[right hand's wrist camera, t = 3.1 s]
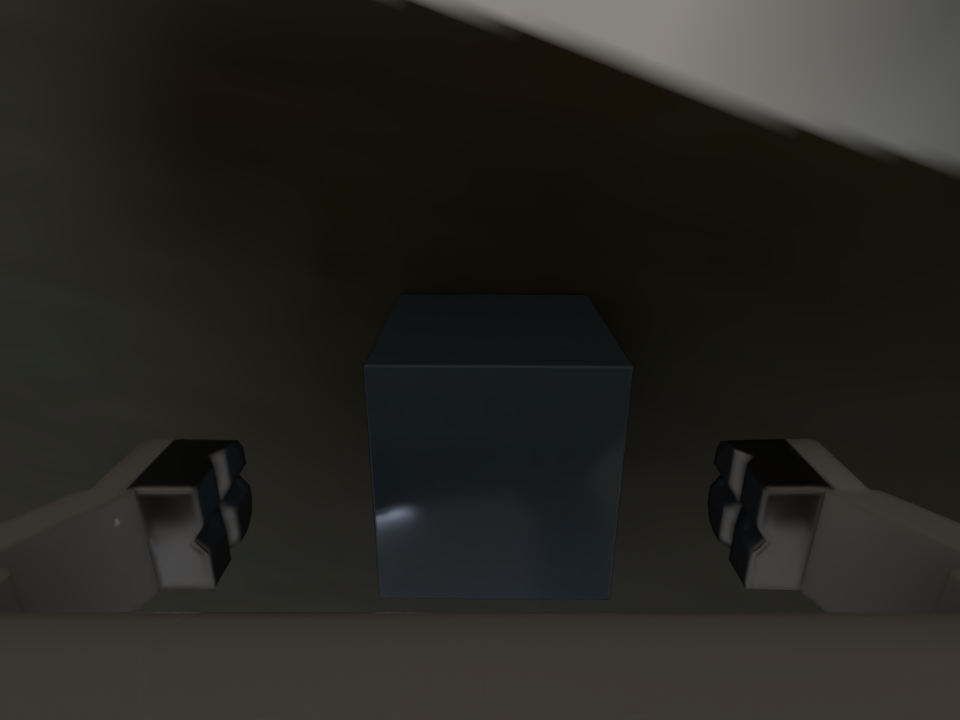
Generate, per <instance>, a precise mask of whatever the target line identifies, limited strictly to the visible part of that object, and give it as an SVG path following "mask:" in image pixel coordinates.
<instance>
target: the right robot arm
mask: <svg viewBox="0 0 960 720" xmlns="http://www.w3.org/2000/svg"><path fill="white" fill-rule="evenodd" d="M245 465H246V460H245V455H244V450H243V446H242V445H241V444H240V443H239V442H238V440H198V439H179V440H178V439H149V440H143V441H142V442H141V443H140V444H139V445H138V446H137V447H136V448H135V449H134V450H133V451H132V452H130V453H129V454H128V455H127V456H126V457H125V458H124V459H123V460H122V461H121V462H120V463H119V464H118V465H117V466H115V467H114V468H113V469H112V470H111V471H110V472H109V473H108V474H107V475H106V476H105V477H104V478H103V479H101V480H100V481H99V482H98V483H97V484H96V485H95V486H94V487H93V488H92V489H91V490H79V491H77V492H75V493H72V494H70V495H67V496H65V497H62V498H60V499H58V500H55V501H53V502H50V503H48V504H45V505H43V506H40V507H38V508H36V509H33V510H31V511H28V512H26V513H23V514H21V515H18V516H16V517H14V518H11V519H9V520H6V521H4V522H1V523H0V720H960V523H958V522H956V521H954V520H951V519H949V518H946V517H944V516H941V515H939V514H937V513H934V512H932V511H929V510H927V509H924V508H922V507H919V506H917V505H915V504H912V503H910V502H907V501H905V500H902V499H900V498H898V497H895V496H893V495H890V494H888V493H885V492H883V491H881V490H869V489H868V488H867V487H866V486H865V485H864V484H863V483H862V482H861V481H860V480H859V479H858V478H856V477H855V476H854V475H853V474H852V473H851V472H850V471H849V470H848V469H847V468H846V467H845V466H844V465H843V464H841V463H840V462H839V461H838V460H837V459H836V458H835V457H834V456H833V455H832V454H831V453H830V452H829V451H828V450H826V449H825V448H824V447H823V446H822V445H821V444H820V443H819V442H818V441H816V440H813V439H810V438H807V439H768V440H727V441H721V442H720V443H719V445H718V447H717V450H716V454H715V459H714V465H715V466H716V468H717V469H718V471H719V472H720V474H721V475H720V476H719V477H718V478H717V479H716V480H715V481H714V482H713V483H712V484H711V485H710V489H709V497H708V512H709V520H710V523H711V527H712V530H713V532H714V534H715V536H716V538H717V539H718V541H719V542H721V543H723V544H724V545H726V546H727V547H729V548H731V550H730V555H729V561H730V562H731V564H732V566H733V567H734V569H735V571H736V573H737V574H738V576H739V578H740V579H741V581H742V583H743V585H744V586H745V588H746V589H782V590H801V593H802V594H803V595H805V596H806V597H807V598H809V599H810V600H811V601H813V602H814V603H815V604H817V605H818V606H819V607H821V608H822V609H823V610H825V611H826V612H134V611H136V610H137V609H138V608H140V607H141V606H142V605H144V604H145V603H146V602H148V601H149V600H150V599H152V598H153V597H154V596H156V595H157V594H158V593H159V590H177V589H213V588H215V586H216V585H217V583H218V581H219V580H220V578H221V576H222V574H223V573H224V571H225V569H226V567H227V566H228V564H229V562H230V561H231V555H230V550H229V548H231V547H233V546H234V545H236V544H237V543H239V542H241V541H242V539H243V537H244V536H245V534H246V532H247V530H248V527H249V523H250V518H251V514H252V496H251V489H250V485H249V484H248V483H247V482H246V481H245V480H244V479H243V478H242V477H241V476H240V475H239V474H240V472H241V471H242V469H243V468H244V466H245Z"/></svg>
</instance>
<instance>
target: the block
mask: <svg viewBox="0 0 960 720" xmlns="http://www.w3.org/2000/svg"><path fill="white" fill-rule="evenodd" d="M363 370H364V384H365V398H366V412H367V426H368V440H369V454H370V468H371V482H372V496H373V510H374V524H375V538H376V552H377V566H378V580H379V595H380V598H414V599H561V600H608V599H609V598H610V592H611V582H612V572H613V563H614V553H615V543H616V533H617V523H618V514H619V504H620V494H621V484H622V475H623V465H624V455H625V445H626V435H627V426H628V416H629V406H630V396H631V387H632V377H633V366H632V364H631V363H630V361H629V360H628V358H627V356H626V355H625V353H624V352H623V350H622V349H621V347H620V345H619V344H618V342H617V341H616V339H615V338H614V336H613V334H612V333H611V331H610V330H609V328H608V327H607V325H606V323H605V322H604V320H603V319H602V317H601V316H600V314H599V312H598V311H597V309H596V308H595V306H594V305H593V303H592V302H591V300H590V298H589V297H588V296H587V295H482V294H401V295H400V296H399V298H398V300H397V302H396V304H395V305H394V307H393V309H392V311H391V313H390V315H389V317H388V319H387V321H386V323H385V325H384V327H383V329H382V331H381V333H380V335H379V337H378V338H377V340H376V342H375V344H374V346H373V348H372V350H371V352H370V354H369V356H368V358H367V360H366V362H365V364H364V366H363Z"/></svg>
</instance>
